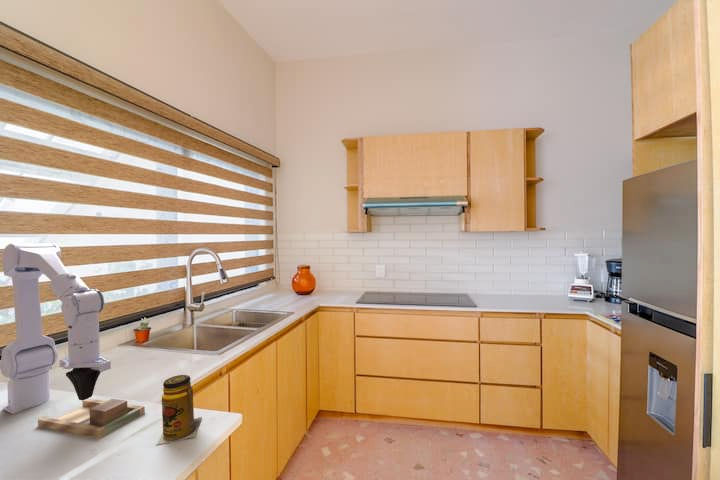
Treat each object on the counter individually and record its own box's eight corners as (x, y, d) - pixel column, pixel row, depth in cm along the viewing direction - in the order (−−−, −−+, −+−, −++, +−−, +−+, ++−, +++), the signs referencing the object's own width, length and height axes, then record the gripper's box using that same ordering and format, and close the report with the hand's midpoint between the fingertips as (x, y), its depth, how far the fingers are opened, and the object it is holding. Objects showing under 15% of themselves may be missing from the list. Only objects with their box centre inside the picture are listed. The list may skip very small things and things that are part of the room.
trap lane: (38, 430, 74) (37, 419, 74) (87, 408, 84) (87, 398, 84) (99, 442, 68) (98, 430, 68) (144, 416, 78) (144, 406, 78)
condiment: (156, 445, 66) (154, 387, 67) (167, 424, 75) (165, 372, 75) (195, 438, 69) (193, 381, 69) (202, 418, 77) (200, 367, 77)
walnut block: (89, 426, 73) (89, 409, 73) (112, 415, 78) (112, 398, 78) (105, 429, 71) (105, 411, 72) (127, 417, 76) (127, 400, 76)
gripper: (43, 345, 75) (45, 402, 75) (86, 349, 71) (88, 410, 71) (77, 336, 82) (79, 389, 82) (119, 339, 78) (120, 395, 78)
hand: (85, 398), depth 77 cm, fingers closed
